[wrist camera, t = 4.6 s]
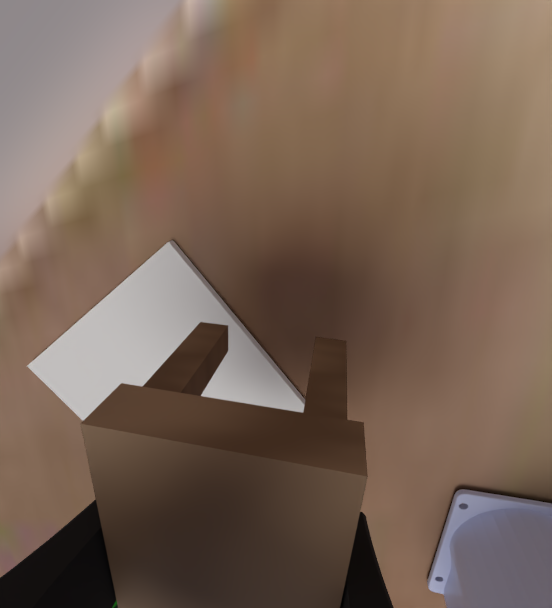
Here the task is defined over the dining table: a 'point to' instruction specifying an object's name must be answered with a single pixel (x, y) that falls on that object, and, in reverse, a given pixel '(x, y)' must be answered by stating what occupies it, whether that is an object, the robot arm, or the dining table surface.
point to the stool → (227, 486)
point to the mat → (158, 341)
